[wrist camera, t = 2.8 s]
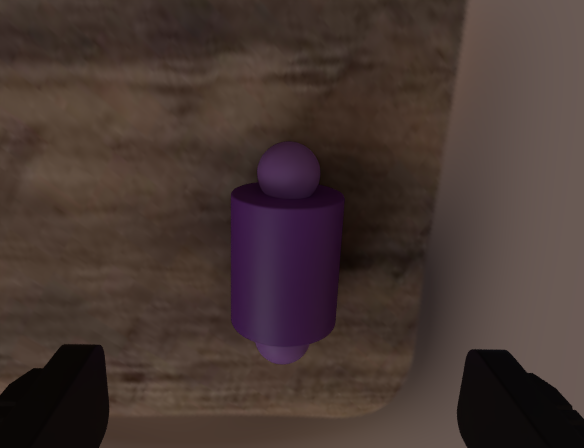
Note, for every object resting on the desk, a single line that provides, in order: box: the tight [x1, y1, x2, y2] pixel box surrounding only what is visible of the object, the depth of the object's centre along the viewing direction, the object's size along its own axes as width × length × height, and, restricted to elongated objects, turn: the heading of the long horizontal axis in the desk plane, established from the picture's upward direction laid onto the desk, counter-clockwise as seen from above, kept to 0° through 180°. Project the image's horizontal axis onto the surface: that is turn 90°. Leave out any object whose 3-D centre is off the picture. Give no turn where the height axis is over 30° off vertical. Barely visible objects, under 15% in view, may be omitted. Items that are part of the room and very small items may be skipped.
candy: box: [231, 141, 345, 364], centre depth 17 cm, size 9×4×4 cm, turn 178°
